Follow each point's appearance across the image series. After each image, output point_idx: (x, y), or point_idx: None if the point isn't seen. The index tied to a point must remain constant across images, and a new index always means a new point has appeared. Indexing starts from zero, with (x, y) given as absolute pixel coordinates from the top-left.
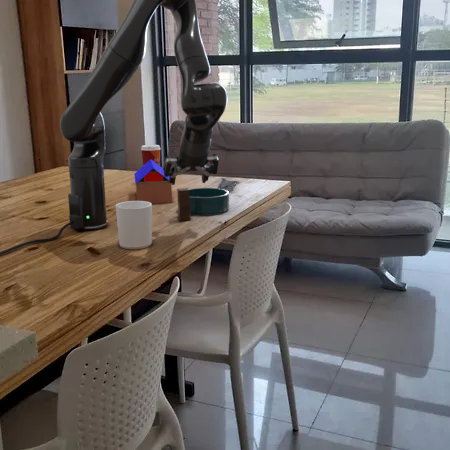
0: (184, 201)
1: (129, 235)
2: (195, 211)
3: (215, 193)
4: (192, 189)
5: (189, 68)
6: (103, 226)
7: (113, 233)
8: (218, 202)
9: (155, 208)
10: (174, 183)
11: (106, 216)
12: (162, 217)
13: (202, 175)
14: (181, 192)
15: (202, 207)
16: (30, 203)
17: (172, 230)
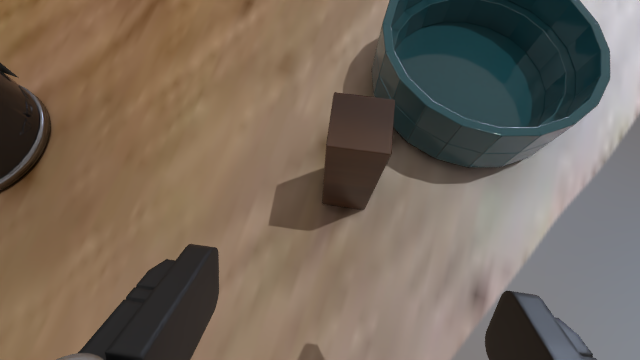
0: (350, 177)
1: None
2: (409, 140)
3: (542, 8)
4: None
5: None
6: (5, 184)
7: (2, 279)
8: (528, 147)
9: (296, 7)
10: (202, 327)
11: (15, 135)
12: (277, 124)
13: (527, 343)
14: (339, 153)
15: (443, 147)
16: None
17: (240, 341)
